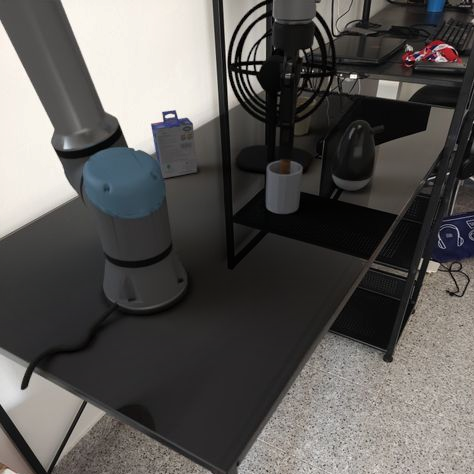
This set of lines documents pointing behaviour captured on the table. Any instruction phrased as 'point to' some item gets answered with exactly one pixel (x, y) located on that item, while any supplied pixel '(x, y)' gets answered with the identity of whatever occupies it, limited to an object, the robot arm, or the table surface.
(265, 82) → the desk fan
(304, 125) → the flower pot
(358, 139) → the pump dispenser
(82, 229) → the table surface
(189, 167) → the ink cartridge box
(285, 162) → the brush
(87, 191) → the robot arm
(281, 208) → the white plastic cup
